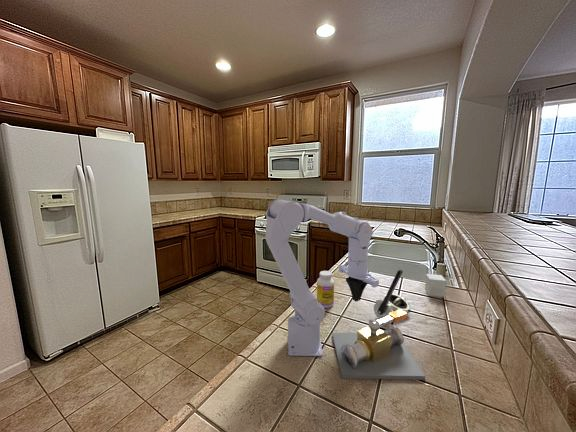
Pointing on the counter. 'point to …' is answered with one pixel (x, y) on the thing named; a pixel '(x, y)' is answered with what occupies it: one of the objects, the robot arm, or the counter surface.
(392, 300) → the butterfly valve
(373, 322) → the lever
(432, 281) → the product box
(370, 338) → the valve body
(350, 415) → the counter surface
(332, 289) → the supplement bottle
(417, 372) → the mounting board
